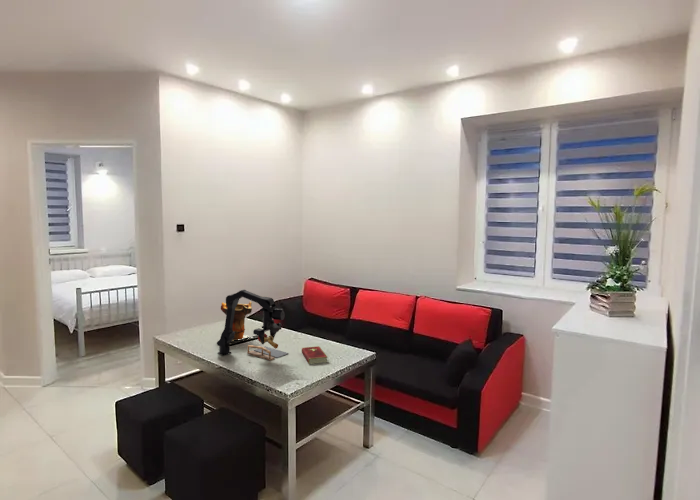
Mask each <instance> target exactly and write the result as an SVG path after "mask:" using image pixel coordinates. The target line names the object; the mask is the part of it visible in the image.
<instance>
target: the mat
mask: <svg viewBox="0 0 700 500" xmlns="http://www.w3.org/2000/svg"><path fill="white" fill-rule="evenodd" d="M263 347H264V348H266V349H268V350H269V351H271V357H275V358H276V359H280V358H282V357H284V356H287V355H289V352H286V351H282V350H279V349H277V348H276V349H275V348H274V347H273V348H272V347H268V346H267V345H266V346H263ZM253 351H255V352H259V353H262V349H257V348H255V349H253ZM263 354H265V355H268V356H269V353H267V352H265V351H264V350H263Z"/></svg>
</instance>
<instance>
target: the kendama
mask: <svg viewBox="0 0 700 500" xmlns="http://www.w3.org/2000/svg"><path fill="white" fill-rule="evenodd" d="M264 334H266V333H264ZM257 340H258V342H260V343H261V340H260V338H259V337H258V336H257ZM265 343H268V345H270V346H271V347H273V349H276V350H277V349H278V348H279V344H278V343H277V342H274V340H273V337H272V336H270V335H267V334H266V335H265V336H264V344H265Z"/></svg>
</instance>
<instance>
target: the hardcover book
mask: <svg viewBox="0 0 700 500" xmlns="http://www.w3.org/2000/svg"><path fill="white" fill-rule="evenodd" d="M301 354H302V356H303V357H304V359H305V360H306V362H307V364H308V365H311V364H312V365H313V364H322V363H321V362H324V363H328V362H327V361H328V359H327V358H328V355H327V354H326V352H324V351H323V348H321V346H318V345H317V346H307V347H301Z"/></svg>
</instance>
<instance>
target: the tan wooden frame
mask: <svg viewBox="0 0 700 500" xmlns="http://www.w3.org/2000/svg"><path fill="white" fill-rule="evenodd" d="M250 348H251V349H262V353H259V352H256V351H254V350H250ZM263 350H264V351H265V352H267V353H269V356H268V355H265V354H263ZM246 353H247V355H250V356H254V357H257V358H260V359H263V360H267V361H273V360H275V357H272V356H271V351H269V350H268V349H266V348H264V346H259V345H252V344H248V345H247V352H246Z"/></svg>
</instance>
